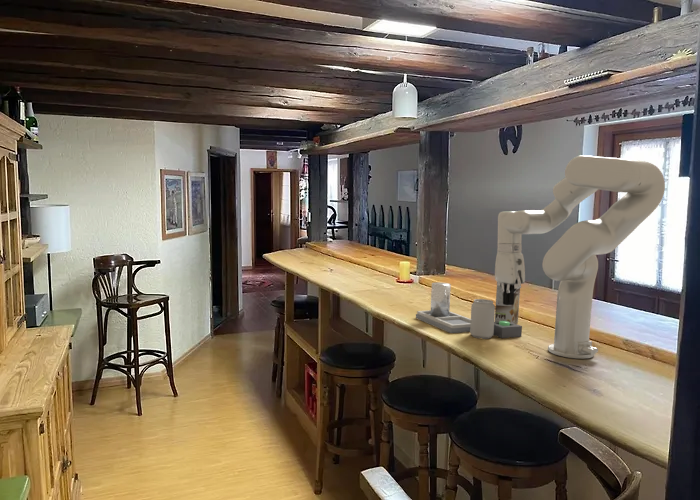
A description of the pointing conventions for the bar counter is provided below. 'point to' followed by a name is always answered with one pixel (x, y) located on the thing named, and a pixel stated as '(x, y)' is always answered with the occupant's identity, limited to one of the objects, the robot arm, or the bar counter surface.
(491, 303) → the can
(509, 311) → the coffee box
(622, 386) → the bar counter surface
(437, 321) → the grey compartment tray
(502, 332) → the console
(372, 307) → the bar counter surface
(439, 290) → the block
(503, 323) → the button
